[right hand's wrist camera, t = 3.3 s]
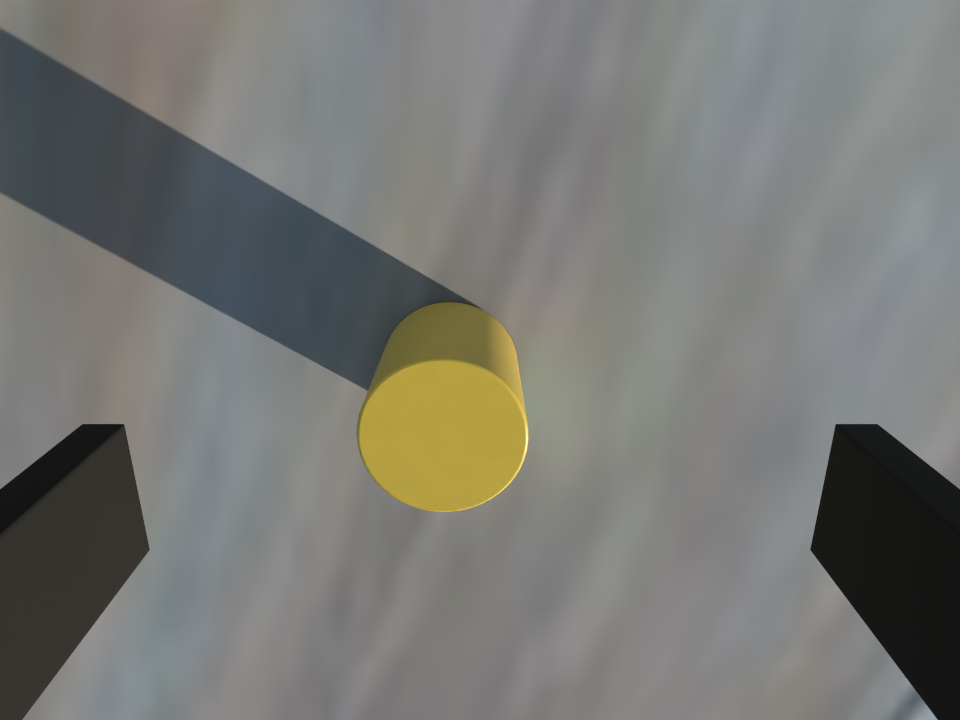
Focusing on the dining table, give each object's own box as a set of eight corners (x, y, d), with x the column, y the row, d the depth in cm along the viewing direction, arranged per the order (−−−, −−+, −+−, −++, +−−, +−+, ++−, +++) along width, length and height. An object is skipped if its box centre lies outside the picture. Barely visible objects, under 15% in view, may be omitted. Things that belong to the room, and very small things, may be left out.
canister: (545, 368, 19) (564, 441, 15) (449, 450, 20) (442, 542, 15) (451, 273, 18) (442, 322, 14) (355, 364, 19) (320, 436, 15)
